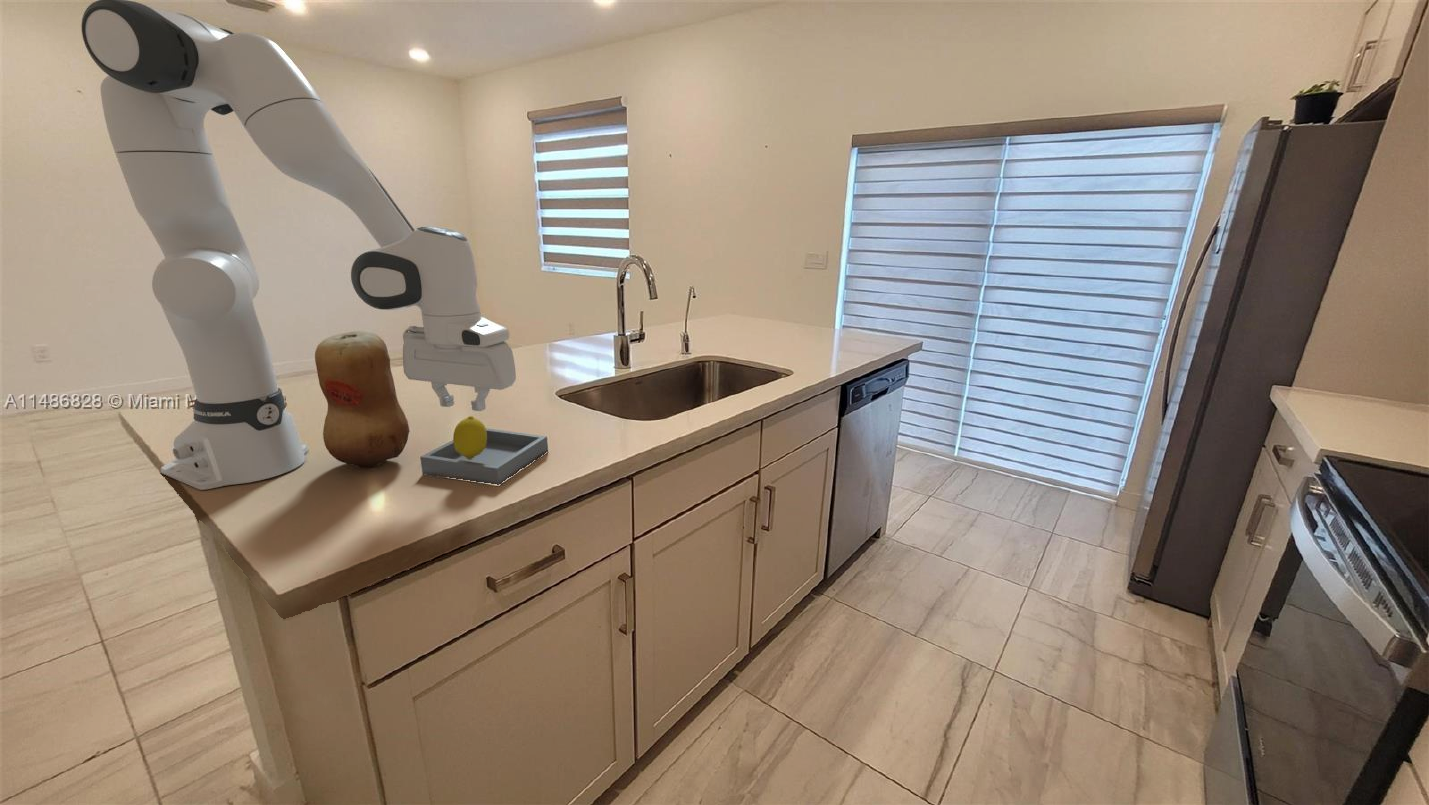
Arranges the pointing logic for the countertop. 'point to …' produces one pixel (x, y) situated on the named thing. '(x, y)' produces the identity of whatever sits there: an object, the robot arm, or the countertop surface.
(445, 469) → the tray
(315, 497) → the countertop surface
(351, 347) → the butternut squash
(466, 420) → the lemon
